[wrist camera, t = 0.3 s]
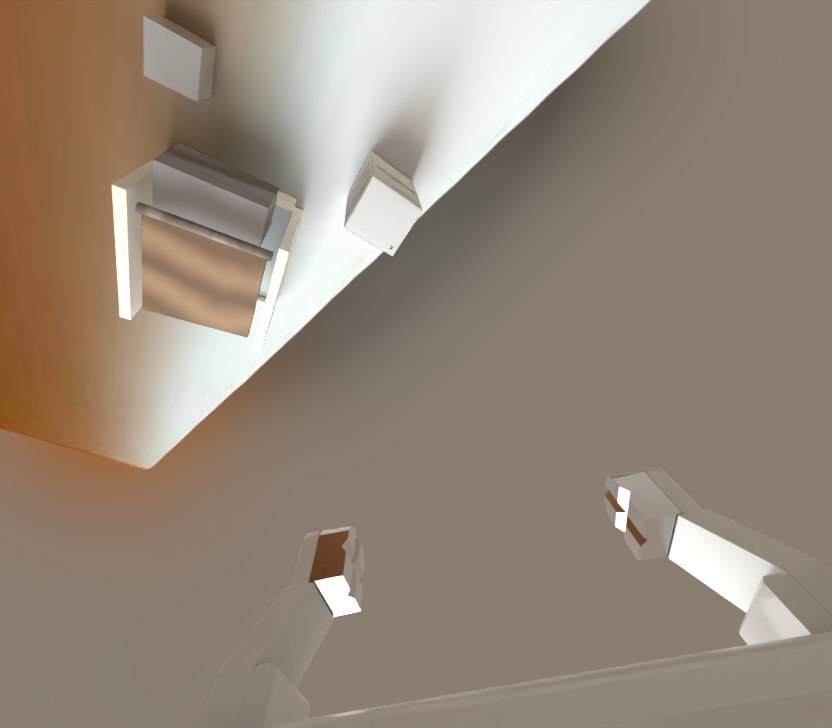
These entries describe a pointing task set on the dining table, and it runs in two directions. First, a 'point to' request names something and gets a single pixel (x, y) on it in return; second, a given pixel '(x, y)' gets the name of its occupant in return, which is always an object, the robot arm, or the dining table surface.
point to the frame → (140, 190)
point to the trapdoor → (204, 240)
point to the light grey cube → (178, 58)
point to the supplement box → (381, 205)
